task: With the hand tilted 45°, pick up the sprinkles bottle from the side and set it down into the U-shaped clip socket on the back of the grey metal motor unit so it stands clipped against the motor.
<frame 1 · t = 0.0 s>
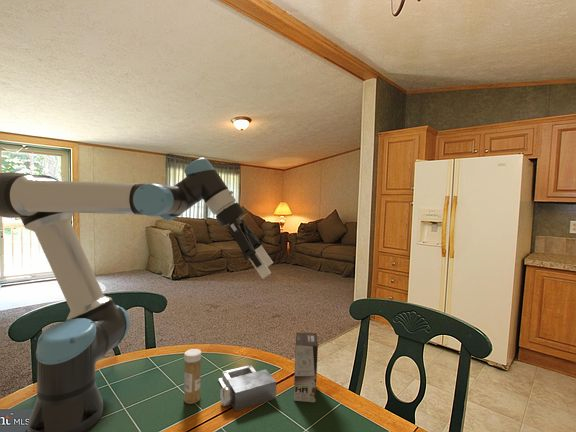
hand: (268, 270, 89), 36 cm above the table, tool tilted 35°, fingers open, 13 cm apart
motor unit: (241, 383, 95), on the table
sprinkles bottle: (192, 400, 87), on the table
coffee box: (304, 392, 91), on the table
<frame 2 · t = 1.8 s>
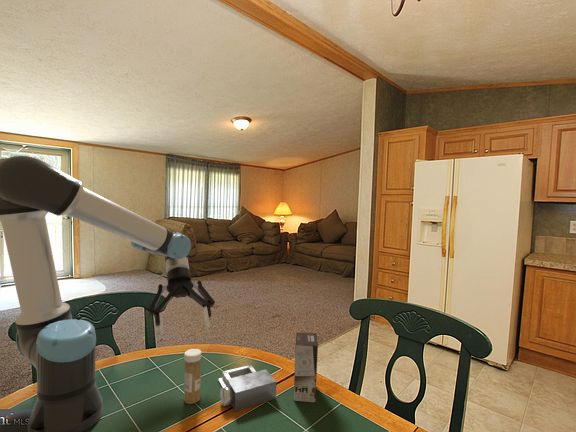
hand: (185, 331, 95), 15 cm above the table, tool tilted 45°, fingers open, 13 cm apart
nothing on the table moved.
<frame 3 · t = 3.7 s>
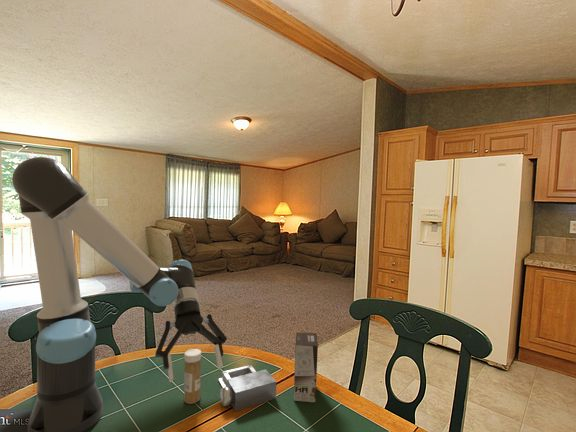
hand: (196, 374, 87), 7 cm above the table, tool tilted 45°, fingers open, 13 cm apart
nothing on the table moved.
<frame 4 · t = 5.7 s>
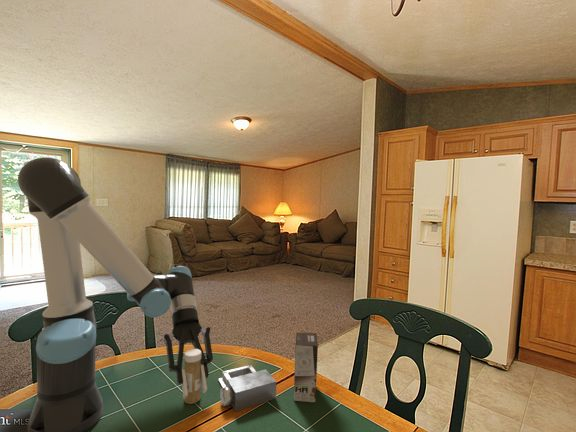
hand: (195, 393, 83), 4 cm above the table, tool tilted 45°, fingers closed on sprinkles bottle, 4 cm apart
sprinkles bottle: (192, 399, 87), on the table, touching gripper
everything else where it was.
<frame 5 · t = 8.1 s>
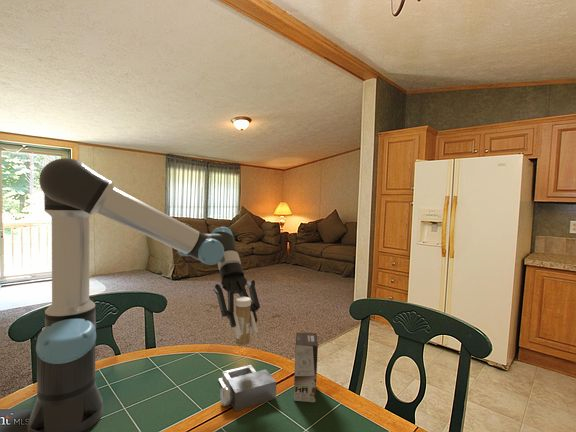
hand: (247, 335, 91), 17 cm above the table, tool tilted 45°, fingers closed on sprinkles bottle, 4 cm apart
sprinkles bottle: (242, 343, 94), point 13 cm above the table, touching gripper
everything else where it was.
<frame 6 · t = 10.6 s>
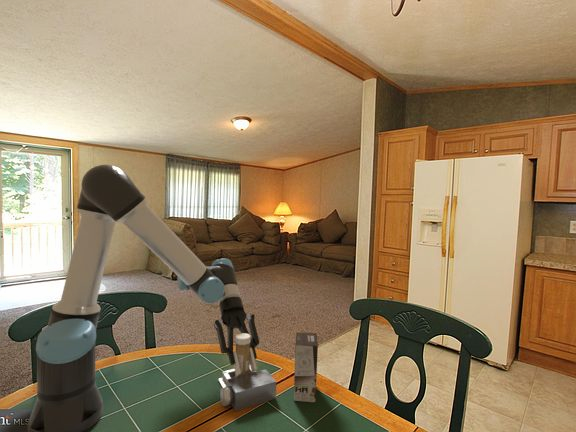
hand: (246, 373, 91), 5 cm above the table, tool tilted 45°, fingers closed on sprinkles bottle, 4 cm apart
sprinkles bottle: (241, 379, 95), point 1 cm above the table, touching gripper
everything else where it was.
when the fingers open (5 cm above the table, at t = 10.8 s): sprinkles bottle stays where it is, resting on motor unit.
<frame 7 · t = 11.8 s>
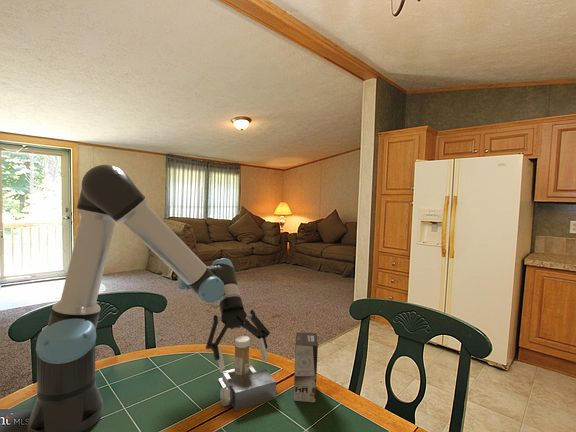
hand: (245, 365, 92), 7 cm above the table, tool tilted 45°, fingers open, 13 cm apart
sprinkles bottle: (241, 382, 95), resting on motor unit
everything else where it was.
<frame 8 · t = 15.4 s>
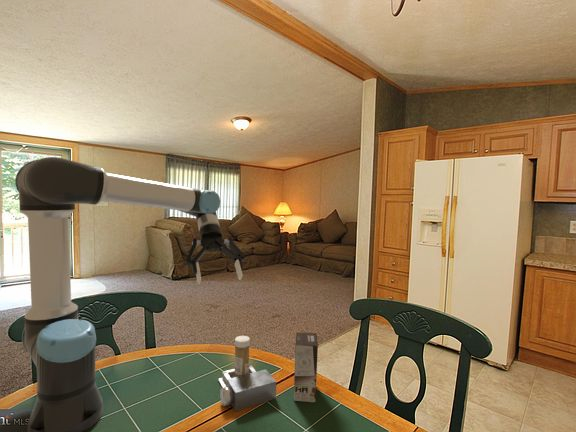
hand: (220, 280, 101), 30 cm above the table, tool tilted 45°, fingers open, 13 cm apart
nothing on the table moved.
at the end: sprinkles bottle 0.2 cm off-centre on the motor unit, point 0.4 cm above the motor unit's base; sprinkles bottle tilted 0°; the gripper is holding nothing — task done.
